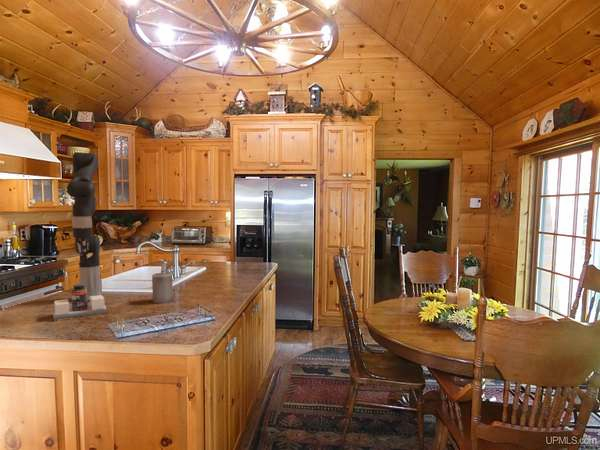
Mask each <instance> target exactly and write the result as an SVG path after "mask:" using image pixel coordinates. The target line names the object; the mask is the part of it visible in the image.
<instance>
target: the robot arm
mask: <svg viewBox="0 0 600 450" xmlns="http://www.w3.org/2000/svg"><path fill="white" fill-rule="evenodd" d="M71 158H72V172H73V178H72V179H71V180H70V181H69V182H68V184H67V187H66V192H67V194H68V196H69V197H71V198H74V203H73V205H72V224H71V225H72V238H74V248H75V252H76V253H77V254H79V262H78V272H79V273H78V274H79V276H78V277H79V284H84V288H85V289H86V290H87V300H90V296H97V295H102V296H103V285H102V284H103V283H102V279H101V269H100V268H101V263H100V250H101V249H100V247H101V246H100V245H101V243H100V241H101V240H100V237H99V235H97V234H93V219H92V216H93V215H94V214H95V212H96V196H95V193H96V186H95V184H94V183H93V178H94V176H95V174H96V172H97V171H98V168H99V160H98V159H99V157H98V156H97V154H96V153H92V152H78V151H77V152H76V151H75V152H73V154H72V157H71ZM88 254H91V255H90V256H89V257H88Z"/></svg>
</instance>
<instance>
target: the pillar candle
mask: <svg viewBox="0 0 600 450" xmlns="http://www.w3.org/2000/svg"><path fill="white" fill-rule="evenodd" d="M151 284H152V302H153V303H155V304H162V303H163V304H166V303H170V302H172V301H173V299H174V293H173V292H174V291H173V290H174V289H173V273H172V272H164V271H162V272H157V273H153V274H152V275H151Z"/></svg>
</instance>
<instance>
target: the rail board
mask: <svg viewBox="0 0 600 450" xmlns="http://www.w3.org/2000/svg"><path fill="white" fill-rule="evenodd" d="M69 302H70V301H69V299H68V298H67V299H60V300H54V311H52V317H53V318H52V320H58V319H64V318H71V317H77V316H85V315H92V316H94V315H93V314H99V315H102V314H101V313H105V314H108V309H107V307H106V305H105V297H104V296H103V294H102V295H97V296H90V301H89V306H88V307H87V309H85V310H82V311H73V310H72V308H70V303H69Z"/></svg>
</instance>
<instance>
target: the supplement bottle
mask: <svg viewBox="0 0 600 450" xmlns="http://www.w3.org/2000/svg"><path fill="white" fill-rule="evenodd" d="M87 307H88V301H87V290H86V289H85V288H84V284H80V283H76V284H73V289H72V290H71V309H72V310H73V311H82V310H85V309H87Z"/></svg>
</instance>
